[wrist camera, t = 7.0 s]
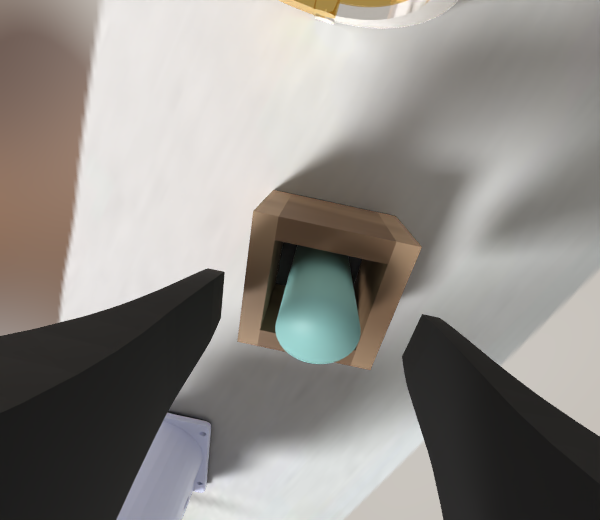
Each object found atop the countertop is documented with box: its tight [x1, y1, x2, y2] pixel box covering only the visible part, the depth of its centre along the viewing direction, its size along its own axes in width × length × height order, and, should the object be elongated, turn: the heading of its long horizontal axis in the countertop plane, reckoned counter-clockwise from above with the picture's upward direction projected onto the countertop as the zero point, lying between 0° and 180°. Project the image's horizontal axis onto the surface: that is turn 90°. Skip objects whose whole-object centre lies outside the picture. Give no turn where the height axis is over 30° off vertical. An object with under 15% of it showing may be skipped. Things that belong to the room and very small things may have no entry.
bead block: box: [237, 190, 422, 370], centre depth 13 cm, size 6×6×4 cm
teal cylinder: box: [275, 245, 361, 364], centre depth 12 cm, size 3×3×6 cm
